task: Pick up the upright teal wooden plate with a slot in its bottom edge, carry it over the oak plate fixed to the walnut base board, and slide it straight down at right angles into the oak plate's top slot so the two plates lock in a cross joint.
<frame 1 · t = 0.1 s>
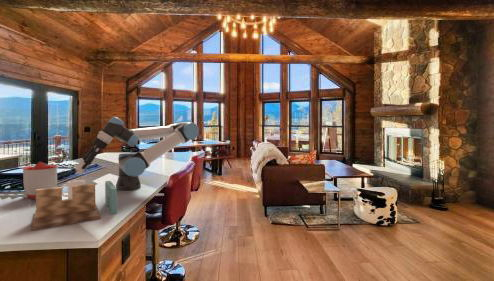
hand: (77, 171, 145), 15 cm above the worktop, tool tilted 35°, fingers open, 13 cm apart
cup: (73, 199, 145), on the worktop
citrus juicer: (40, 196, 150), on the worktop
teal slotted plate: (110, 208, 131), on the worktop
joint base: (67, 215, 119), on the worktop
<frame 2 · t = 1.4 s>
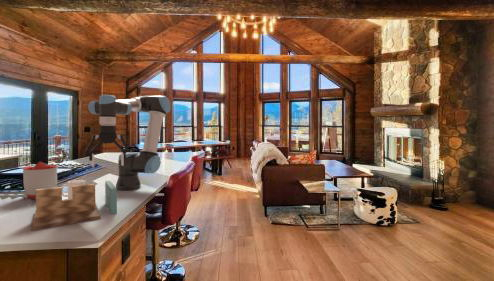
hand: (108, 166, 135), 20 cm above the worktop, tool pointing down, fingers open, 13 cm apart
nothing on the worktop moved.
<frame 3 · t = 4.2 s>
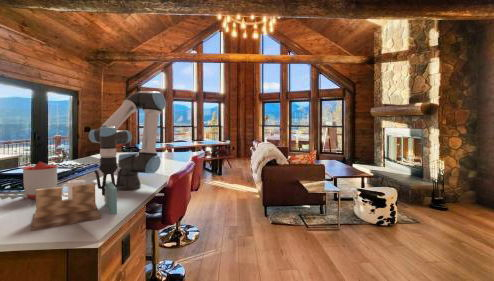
hand: (108, 200, 137), 2 cm above the worktop, tool pointing down, fingers closed on teal slotted plate, 2 cm apart
teal slotted plate: (110, 208, 131), on the worktop, touching gripper
everything else where it was.
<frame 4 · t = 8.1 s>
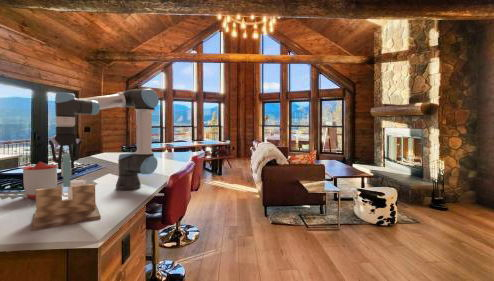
hand: (66, 175, 123), 18 cm above the worktop, tool pointing down, fingers closed on teal slotted plate, 2 cm apart
teal slotted plate: (66, 182, 118), point 16 cm above the worktop, touching gripper
everything else where it was.
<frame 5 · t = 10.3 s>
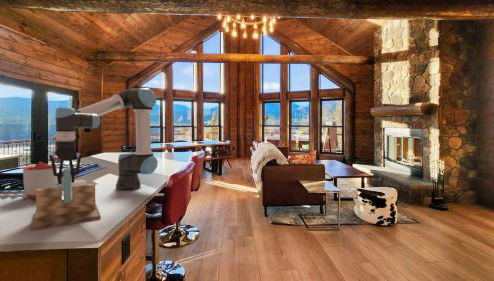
hand: (66, 189, 124), 11 cm above the worktop, tool pointing down, fingers closed on teal slotted plate, 2 cm apart
teal slotted plate: (67, 197, 119), point 9 cm above the worktop, touching gripper
everything else where it was.
when the fingers open (4 cm above the worktop, at t = 12.4 s): teal slotted plate stays where it is, resting on joint base.
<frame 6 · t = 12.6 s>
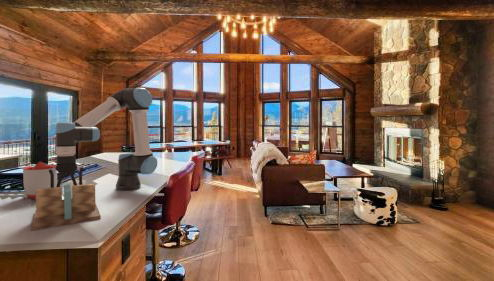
hand: (67, 203, 124), 4 cm above the worktop, tool pointing down, fingers open, 5 cm apart
teal slotted plate: (67, 212, 119), point 2 cm above the worktop, touching joint base
everything else where it was.
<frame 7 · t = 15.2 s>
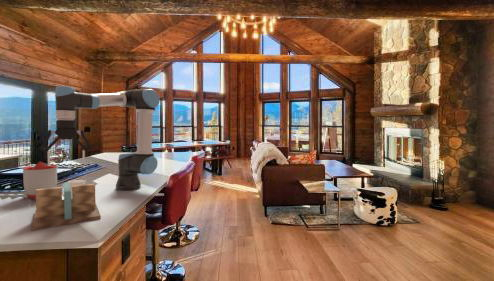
hand: (67, 164, 124), 23 cm above the worktop, tool pointing down, fingers open, 13 cm apart
nothing on the worktop moved.
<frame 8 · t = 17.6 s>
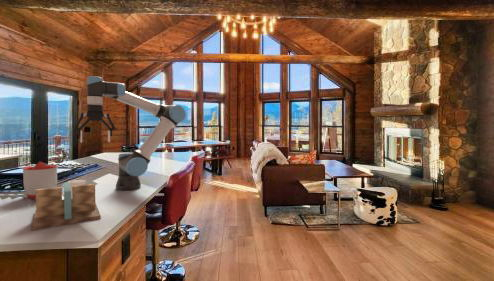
hand: (95, 142, 148), 32 cm above the worktop, tool pointing down, fingers open, 13 cm apart
nothing on the worktop moved.
at the end: teal slotted plate 0.0 cm off-centre on the joint base, point 1.5 cm above the joint base's base; teal slotted plate tilted 0°; the gripper is holding nothing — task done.
